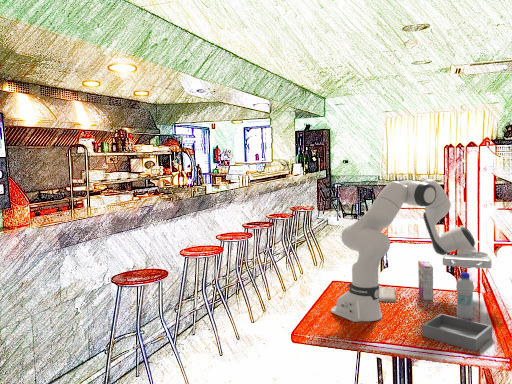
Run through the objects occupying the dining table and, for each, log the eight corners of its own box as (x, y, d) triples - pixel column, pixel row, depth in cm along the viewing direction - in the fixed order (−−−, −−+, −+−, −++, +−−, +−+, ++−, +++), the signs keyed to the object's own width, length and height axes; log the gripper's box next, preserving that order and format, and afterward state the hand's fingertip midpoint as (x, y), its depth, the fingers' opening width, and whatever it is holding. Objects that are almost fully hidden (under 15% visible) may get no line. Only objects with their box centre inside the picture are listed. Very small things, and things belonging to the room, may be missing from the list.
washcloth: (394, 291, 232) (394, 285, 232) (397, 303, 215) (397, 297, 215) (370, 290, 235) (370, 284, 235) (371, 302, 218) (370, 296, 217)
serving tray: (422, 336, 177) (422, 324, 177) (440, 323, 188) (440, 313, 188) (475, 351, 163) (476, 339, 162) (492, 337, 174) (492, 326, 173)
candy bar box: (417, 292, 228) (417, 260, 226) (428, 293, 227) (428, 260, 225) (422, 300, 217) (422, 266, 215) (433, 300, 216) (433, 266, 214)
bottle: (475, 322, 189) (476, 274, 187) (458, 321, 190) (458, 274, 188) (471, 316, 195) (471, 270, 193) (454, 315, 197) (454, 270, 195)
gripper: (443, 250, 218) (440, 257, 206) (491, 253, 209) (491, 260, 197) (443, 263, 219) (440, 271, 207) (491, 266, 210) (491, 274, 198)
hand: (466, 266), depth 202 cm, fingers open, 8 cm apart
